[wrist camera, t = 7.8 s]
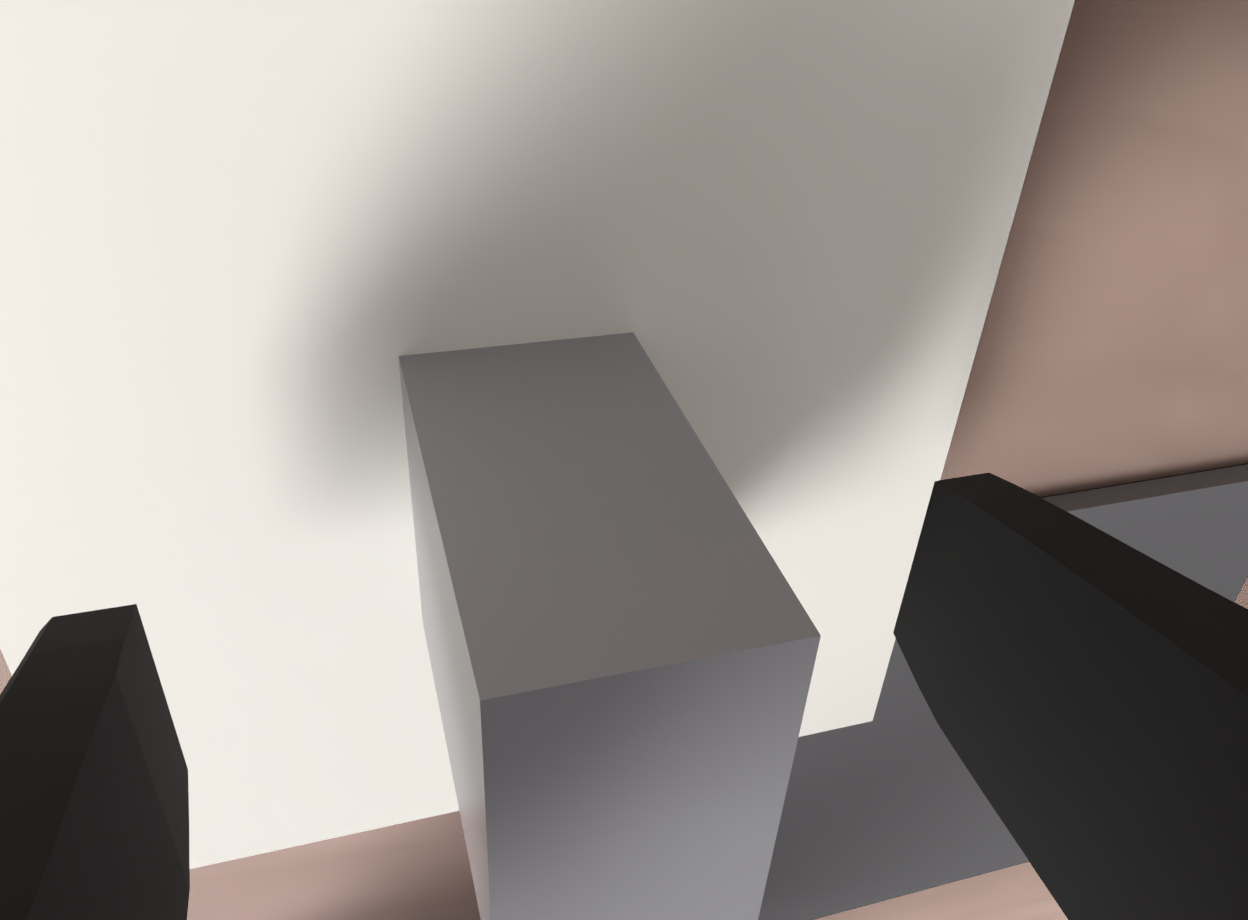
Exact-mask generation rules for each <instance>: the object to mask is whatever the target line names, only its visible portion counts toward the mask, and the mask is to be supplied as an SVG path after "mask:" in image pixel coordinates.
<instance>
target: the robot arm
mask: <svg viewBox="0 0 1248 920" xmlns="http://www.w3.org/2000/svg"><path fill="white" fill-rule="evenodd" d="M893 633H894V636H895V638H896V640H897V642H898V644H899V646H900V648H901V651H902V653H903V655H904V657H905V659H906V661H907V663H908V666H909V668H910V670H911V672H912V674H913V676H914V678H915V681H916V683H917V685H918V687H919V688H920V690H921V692H922V694H923V696H924V698H925V700H926V702H927V704H928V706H929V708H930V710H931V712H932V714H933V716H934V718H935V720H936V722H937V723H938V725H939V726H940V728H941V729H942V731H943V733H944V734H945V736H946V737H947V739H948V740H949V742H950V744H951V745H952V747H953V748H954V750H955V751H956V753H957V754H958V756H959V757H960V759H961V760H962V762H963V763H964V765H965V766H966V768H967V769H968V771H969V772H970V774H971V775H972V777H973V778H974V780H975V781H976V783H977V784H978V786H979V788H980V789H981V791H982V792H983V794H984V795H985V797H986V798H987V799H988V801H989V802H990V804H991V805H992V807H993V808H994V810H995V811H996V813H997V814H998V816H999V817H1000V819H1001V820H1002V822H1003V823H1004V825H1005V826H1006V828H1007V829H1008V831H1009V832H1010V834H1011V835H1012V837H1013V838H1014V840H1015V841H1016V842H1017V844H1018V845H1019V847H1020V848H1021V850H1022V851H1023V853H1024V854H1025V856H1026V857H1027V859H1028V860H1029V862H1030V863H1031V865H1032V866H1033V868H1034V869H1035V871H1036V872H1037V874H1038V875H1039V877H1040V878H1041V880H1042V881H1043V883H1044V884H1045V886H1046V887H1047V888H1048V890H1049V891H1050V893H1051V894H1052V896H1053V897H1054V899H1055V900H1056V902H1057V903H1058V905H1059V906H1060V908H1061V909H1062V911H1063V912H1064V914H1065V915H1066V917H1067V918H1068V920H1248V609H1246V608H1244V607H1242V606H1240V605H1238V604H1236V603H1234V602H1233V601H1231V600H1229V599H1227V598H1225V597H1223V596H1221V595H1219V594H1217V593H1216V592H1214V591H1212V590H1210V589H1208V588H1206V587H1204V586H1202V585H1200V584H1199V583H1197V582H1195V581H1193V580H1191V579H1189V578H1188V577H1186V576H1184V575H1182V574H1180V573H1178V572H1176V571H1175V570H1173V569H1171V568H1169V567H1167V566H1165V565H1163V564H1162V563H1160V562H1158V561H1156V560H1154V559H1153V558H1151V557H1149V556H1147V555H1145V554H1143V553H1142V552H1140V551H1138V550H1136V549H1134V548H1132V547H1131V546H1129V545H1127V544H1125V543H1123V542H1121V541H1120V540H1118V539H1116V538H1114V537H1112V536H1111V535H1109V534H1107V533H1105V532H1103V531H1101V530H1100V529H1098V528H1096V527H1094V526H1092V525H1091V524H1089V523H1087V522H1085V521H1083V520H1081V519H1079V518H1078V517H1076V516H1074V515H1072V514H1070V513H1068V512H1066V511H1065V510H1063V509H1061V508H1059V507H1057V506H1055V505H1053V504H1052V503H1050V502H1048V501H1046V500H1044V499H1042V498H1040V497H1038V496H1036V495H1034V494H1032V493H1030V492H1029V491H1026V490H1024V489H1022V488H1020V487H1018V486H1016V485H1014V484H1012V483H1010V482H1008V481H1006V480H1004V479H1002V478H999V477H997V476H995V475H993V474H991V473H985V474H978V475H972V476H965V477H959V478H952V479H946V480H939V481H935V482H934V486H933V489H932V493H931V497H930V500H929V504H928V508H927V511H926V515H925V519H924V522H923V526H922V530H921V533H920V537H919V540H918V544H917V548H916V551H915V555H914V559H913V562H912V566H911V570H910V573H909V577H908V581H907V584H906V588H905V592H904V595H903V599H902V602H901V606H900V610H899V613H898V617H897V621H896V624H895V628H894V632H893ZM189 889H190V881H189V793H188V768H187V765H186V762H185V759H184V755H183V752H182V749H181V746H180V743H179V739H178V736H177V733H176V730H175V727H174V723H173V720H172V717H171V714H170V710H169V707H168V704H167V701H166V698H165V694H164V691H163V688H162V685H161V682H160V678H159V675H158V672H157V669H156V665H155V662H154V659H153V656H152V653H151V649H150V646H149V643H148V640H147V637H146V633H145V630H144V627H143V624H142V620H141V617H140V614H139V611H138V608H137V604H133V605H127V606H120V607H114V608H107V609H101V610H94V611H88V612H81V613H75V614H68V615H62V616H55V617H52V618H51V619H50V620H49V621H48V622H47V623H46V624H45V626H44V627H43V628H42V629H41V630H40V631H39V633H38V635H37V636H36V638H35V640H34V641H33V643H32V645H31V646H30V648H29V649H28V651H27V653H26V654H25V656H24V658H23V659H22V661H21V662H20V664H19V666H18V667H17V669H16V671H15V672H14V674H13V675H12V677H11V679H10V680H9V682H8V684H7V685H6V687H5V688H4V690H3V692H2V693H1V695H0V920H187V909H188V899H189Z"/></svg>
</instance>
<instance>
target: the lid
mask: <svg viewBox="0 0 1248 920" xmlns="http://www.w3.org/2000/svg"><path fill="white" fill-rule="evenodd" d="M1074 2H1075V0H0V649H1V651H2V654H3V656H4V658H5V660H6V663H7V665H8V667H9V670H10V672H11V674H12V675H13V674H14V672H15V671H16V669H17V667H18V666H19V664H20V662H21V661H22V659H23V658H24V656H25V654H26V653H27V651H28V649H29V648H30V646H31V645H32V643H33V641H34V640H35V638H36V636H37V635H38V633H39V631H40V630H41V629H42V628H43V627H44V626H45V624H46V623H47V622H48V621H49V620H50V619H51V618H52V617H55V616H62V615H68V614H75V613H81V612H88V611H94V610H101V609H107V608H114V607H120V606H127V605H133V604H137V608H138V611H139V614H140V617H141V620H142V624H143V627H144V630H145V633H146V637H147V640H148V643H149V646H150V649H151V653H152V656H153V659H154V662H155V665H156V669H157V672H158V675H159V678H160V682H161V685H162V688H163V691H164V694H165V698H166V701H167V704H168V707H169V710H170V714H171V717H172V720H173V723H174V727H175V730H176V733H177V736H178V739H179V743H180V746H181V749H182V752H183V755H184V759H185V762H186V765H187V768H188V793H189V869H193V868H197V867H202V866H207V865H211V864H216V863H220V862H225V861H230V860H234V859H239V858H244V857H248V856H253V855H257V854H262V853H267V852H271V851H276V850H280V849H285V848H290V847H294V846H299V845H303V844H308V843H313V842H317V841H322V840H326V839H331V838H336V837H340V836H345V835H350V834H354V833H359V832H363V831H368V830H373V829H377V828H382V827H386V826H391V825H396V824H400V823H405V822H409V821H414V820H419V819H423V818H428V817H432V816H437V815H442V814H446V813H451V812H456V811H460V816H461V821H462V826H463V832H464V837H465V842H466V847H467V852H468V857H469V862H470V868H471V873H472V878H473V883H474V888H475V893H476V898H477V904H478V909H479V914H480V919H481V920H758V918H759V913H760V908H761V904H762V899H763V895H764V890H765V886H766V881H767V877H768V872H769V868H770V863H771V859H772V854H773V850H774V845H775V841H776V836H777V832H778V827H779V823H780V818H781V814H782V809H783V805H784V800H785V795H786V791H787V786H788V782H789V777H790V773H791V768H792V764H793V759H794V755H795V750H796V746H797V741H798V737H801V736H806V735H810V734H815V733H820V732H824V731H829V730H833V729H838V728H843V727H847V726H852V725H856V724H861V723H866V722H870V721H873V717H874V714H875V710H876V707H877V703H878V700H879V696H880V692H881V689H882V685H883V682H884V678H885V675H886V671H887V667H888V664H889V660H890V657H891V653H892V650H893V646H894V643H895V639H896V638H895V636H894V633H893V632H894V628H895V624H896V621H897V617H898V613H899V610H900V606H901V602H902V599H903V595H904V592H905V588H906V584H907V581H908V577H909V573H910V570H911V566H912V562H913V559H914V555H915V551H916V548H917V544H918V540H919V537H920V533H921V530H922V526H923V522H924V519H925V515H926V511H927V508H928V504H929V500H930V497H931V493H932V489H933V486H934V482H935V481H939V480H940V479H941V475H942V472H943V468H944V464H945V461H946V457H947V454H948V450H949V447H950V443H951V440H952V436H953V432H954V429H955V425H956V422H957V418H958V415H959V411H960V408H961V404H962V400H963V397H964V393H965V390H966V386H967V383H968V379H969V375H970V372H971V368H972V365H973V361H974V358H975V354H976V351H977V347H978V343H979V340H980V336H981V333H982V329H983V326H984V322H985V318H986V315H987V311H988V308H989V304H990V301H991V297H992V294H993V290H994V286H995V283H996V279H997V276H998V272H999V269H1000V265H1001V262H1002V258H1003V254H1004V251H1005V247H1006V244H1007V240H1008V237H1009V233H1010V229H1011V226H1012V222H1013V219H1014V215H1015V212H1016V208H1017V205H1018V201H1019V197H1020V194H1021V190H1022V187H1023V183H1024V180H1025V176H1026V172H1027V169H1028V165H1029V162H1030V158H1031V155H1032V151H1033V148H1034V144H1035V140H1036V137H1037V133H1038V130H1039V126H1040V123H1041V119H1042V115H1043V112H1044V108H1045V105H1046V101H1047V98H1048V94H1049V91H1050V87H1051V83H1052V80H1053V76H1054V73H1055V69H1056V66H1057V62H1058V59H1059V55H1060V51H1061V48H1062V44H1063V41H1064V37H1065V34H1066V30H1067V26H1068V23H1069V19H1070V16H1071V12H1072V9H1073V5H1074Z"/></svg>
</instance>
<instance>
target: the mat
mask: <svg viewBox="0 0 1248 920" xmlns="http://www.w3.org/2000/svg"><path fill="white" fill-rule="evenodd" d="M1042 499H1044V500H1046V501H1048V502H1050V503H1052V504H1053V505H1055V506H1057V507H1059V508H1061V509H1063V510H1065V511H1066V512H1068V513H1070V514H1072V515H1074V516H1076V517H1078V518H1079V519H1081V520H1083V521H1085V522H1087V523H1089V524H1091V525H1092V526H1094V527H1096V528H1098V529H1100V530H1101V531H1103V532H1105V533H1107V534H1109V535H1111V536H1112V537H1114V538H1116V539H1118V540H1120V541H1121V542H1123V543H1125V544H1127V545H1129V546H1131V547H1132V548H1134V549H1136V550H1138V551H1140V552H1142V553H1143V554H1145V555H1147V556H1149V557H1151V558H1153V559H1154V560H1156V561H1158V562H1160V563H1162V564H1163V565H1165V566H1167V567H1169V568H1171V569H1173V570H1175V571H1176V572H1178V573H1180V574H1182V575H1184V576H1186V577H1188V578H1189V579H1191V580H1193V581H1195V582H1197V583H1199V584H1200V585H1202V586H1204V587H1206V588H1208V589H1210V590H1212V591H1214V592H1216V593H1217V594H1219V595H1221V596H1223V597H1225V598H1227V599H1229V600H1231V601H1233V602H1234V601H1235V599H1236V598H1237V596H1238V594H1239V592H1240V590H1241V588H1242V586H1243V584H1244V583H1245V581H1246V579H1247V577H1248V464H1247V465H1241V466H1234V467H1228V468H1222V469H1216V470H1210V471H1204V472H1198V473H1191V474H1185V475H1179V476H1173V477H1167V478H1161V479H1155V480H1149V481H1142V482H1136V483H1130V484H1124V485H1118V486H1112V487H1106V488H1099V489H1093V490H1087V491H1081V492H1075V493H1069V494H1063V495H1057V496H1050V497H1044V498H1042ZM1026 862H1029V860H1028V859H1027V857H1026V856H1025V854H1024V853H1023V851H1022V850H1021V848H1020V847H1019V845H1018V844H1017V842H1016V841H1015V840H1014V838H1013V837H1012V835H1011V834H1010V832H1009V831H1008V829H1007V828H1006V826H1005V825H1004V823H1003V822H1002V820H1001V819H1000V817H999V816H998V814H997V813H996V811H995V810H994V808H993V807H992V805H991V804H990V802H989V801H988V799H987V798H986V797H985V795H984V794H983V792H982V791H981V789H980V788H979V786H978V784H977V783H976V781H975V780H974V778H973V777H972V775H971V774H970V772H969V771H968V769H967V768H966V766H965V765H964V763H963V762H962V760H961V759H960V757H959V756H958V754H957V753H956V751H955V750H954V748H953V747H952V745H951V744H950V742H949V740H948V739H947V737H946V736H945V734H944V733H943V731H942V729H941V728H940V726H939V725H938V723H937V722H936V720H935V718H934V716H933V714H932V712H931V710H930V708H929V706H928V704H927V702H926V700H925V698H924V696H923V694H922V692H921V690H920V688H919V687H918V685H917V683H916V681H915V678H914V676H913V674H912V672H911V670H910V668H909V666H908V663H907V661H906V659H905V657H904V655H903V653H902V651H901V648H900V646H899V644H898V642H897V640H896V639H895V643H894V646H893V650H892V653H891V657H890V660H889V664H888V667H887V671H886V675H885V678H884V682H883V685H882V689H881V692H880V696H879V700H878V703H877V707H876V710H875V714H874V717H873V721H870V722H866V723H861V724H856V725H852V726H847V727H843V728H838V729H833V730H829V731H824V732H820V733H815V734H810V735H806V736H801V737H798V741H797V746H796V750H795V755H794V759H793V764H792V768H791V773H790V777H789V782H788V786H787V791H786V795H785V800H784V805H783V809H782V814H781V818H780V823H779V827H778V832H777V836H776V841H775V845H774V850H773V854H772V859H771V863H770V868H769V872H768V877H767V881H766V886H765V890H764V895H763V899H762V904H761V908H760V913H759V918H758V920H814V919H817V918H821V917H825V916H828V915H832V914H836V913H840V912H843V911H847V910H851V909H854V908H858V907H862V906H866V905H869V904H873V903H877V902H880V901H884V900H888V899H892V898H895V897H899V896H903V895H906V894H910V893H914V892H918V891H921V890H925V889H929V888H933V887H936V886H940V885H944V884H947V883H951V882H955V881H959V880H962V879H966V878H970V877H973V876H977V875H981V874H985V873H988V872H992V871H996V870H999V869H1003V868H1007V867H1011V866H1014V865H1018V864H1022V863H1026Z"/></svg>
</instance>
